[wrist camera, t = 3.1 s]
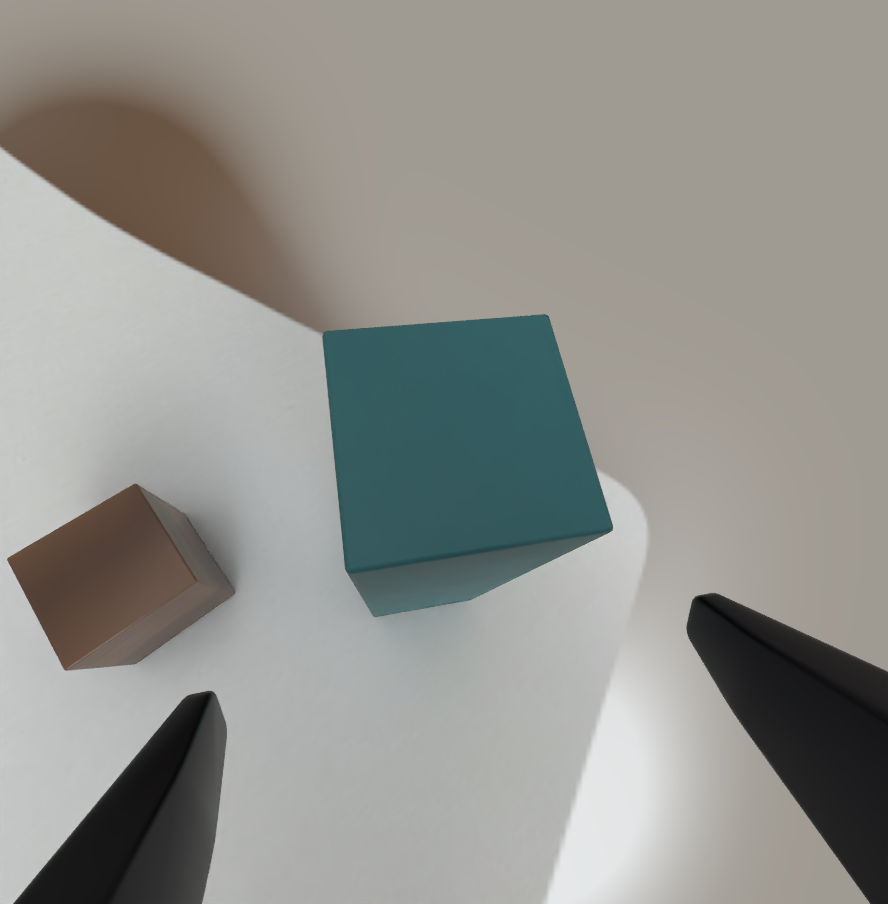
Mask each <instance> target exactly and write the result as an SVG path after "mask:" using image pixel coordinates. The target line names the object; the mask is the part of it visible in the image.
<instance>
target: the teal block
mask: <svg viewBox="0 0 888 904" xmlns="http://www.w3.org/2000/svg"><path fill="white" fill-rule="evenodd" d="M322 337H323V347H324V357H325V368H326V378H327V388H328V398H329V408H330V418H331V428H332V438H333V449H334V459H335V469H336V479H337V489H338V499H339V509H340V520H341V530H342V540H343V550H344V560H345V569H346V571H347V573H348V575H349V576H350V578H351V580H352V581H353V583H354V585H355V586H356V588H357V590H358V591H359V593H360V595H361V596H362V598H363V600H364V601H365V603H366V605H367V606H368V608H369V610H370V611H371V613H372V615H373V616H374V617H378V616H383V615H389V614H394V613H400V612H405V611H411V610H417V609H422V608H428V607H433V606H439V605H445V604H450V603H456V602H461V601H467V600H471V599H473V598H475V597H477V596H479V595H482V594H484V593H486V592H488V591H490V590H492V589H494V588H496V587H498V586H500V585H502V584H504V583H506V582H508V581H510V580H512V579H514V578H517V577H519V576H521V575H523V574H525V573H527V572H529V571H531V570H533V569H535V568H537V567H539V566H541V565H543V564H545V563H547V562H550V561H552V560H554V559H556V558H558V557H560V556H562V555H564V554H566V553H568V552H570V551H572V550H574V549H576V548H578V547H580V546H583V545H585V544H587V543H589V542H591V541H593V540H595V539H597V538H599V537H601V536H603V535H605V534H607V533H609V532H611V531H612V530H613V525H612V521H611V518H610V515H609V512H608V508H607V505H606V502H605V499H604V495H603V492H602V489H601V486H600V482H599V479H598V476H597V473H596V469H595V466H594V463H593V460H592V456H591V453H590V450H589V446H588V443H587V440H586V437H585V433H584V430H583V427H582V424H581V420H580V417H579V414H578V411H577V407H576V404H575V401H574V398H573V394H572V391H571V388H570V385H569V381H568V378H567V375H566V371H565V368H564V365H563V362H562V359H561V356H560V352H559V349H558V345H557V342H556V339H555V336H554V332H553V329H552V326H551V323H550V319H549V317H548V315H545V314H544V315H531V316H520V317H506V318H493V319H479V320H467V321H453V322H440V323H427V324H414V325H401V326H388V327H375V328H361V329H348V330H335V331H326V332H324V334H323V336H322Z"/></svg>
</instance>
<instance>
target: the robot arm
mask: <svg viewBox="0 0 888 904" xmlns="http://www.w3.org/2000/svg"><path fill="white" fill-rule="evenodd" d="M687 634H688V637H689V639H690V641H691V643H692V645H693V646H694V648H695V650H696V651H697V653H698V655H699V656H700V658H701V660H702V661H703V663H704V665H705V666H706V668H707V670H708V671H709V673H710V675H711V677H712V678H713V680H714V681H715V683H716V685H717V686H718V688H719V690H720V692H721V693H722V695H723V697H724V698H725V700H726V702H727V703H728V705H729V706H730V708H731V710H732V711H733V713H734V714H735V716H736V717H737V719H738V720H739V722H740V723H741V724H742V726H743V727H744V729H745V730H746V731H747V733H748V734H749V736H750V737H751V738H752V740H753V741H754V743H755V744H756V745H757V747H758V748H759V750H760V751H761V752H762V754H763V755H764V756H765V758H766V759H767V761H768V762H769V763H770V765H771V766H772V768H773V769H774V770H775V772H776V773H777V775H778V776H779V777H780V779H781V780H782V782H783V783H784V784H785V786H786V787H787V788H788V790H789V791H790V793H791V794H792V795H793V797H794V798H795V800H796V801H797V802H798V804H799V805H800V807H801V808H802V809H803V811H804V812H805V813H806V815H807V816H808V818H809V819H810V820H811V822H812V823H813V825H814V826H815V827H816V829H817V830H818V832H819V833H820V834H821V836H822V837H823V839H824V840H825V841H826V843H827V844H828V846H829V847H830V848H831V850H832V851H833V852H834V854H835V855H836V857H837V858H838V859H839V861H840V862H841V864H842V865H843V866H844V867H845V869H846V871H847V872H848V873H849V875H850V876H851V877H852V879H853V880H854V882H855V883H856V884H857V886H858V887H859V888H860V890H861V891H862V893H863V894H864V895H865V897H866V898H867V900H868V901H869V903H870V904H888V672H887V671H885V670H883V669H881V668H879V667H877V666H874V665H872V664H870V663H868V662H866V661H863V660H861V659H859V658H857V657H855V656H852V655H850V654H848V653H846V652H844V651H842V650H839V649H837V648H835V647H833V646H831V645H829V644H826V643H824V642H822V641H820V640H818V639H815V638H813V637H811V636H809V635H806V634H804V633H802V632H800V631H797V630H796V629H793V628H791V627H789V626H787V625H785V624H782V623H780V622H778V621H776V620H774V619H772V618H770V617H767V616H765V615H763V614H761V613H758V612H756V611H754V610H752V609H750V608H748V607H745V606H743V605H741V604H739V603H737V602H735V601H732V600H730V599H728V598H726V597H724V596H721V595H719V594H716V593H709V594H704V595H699V596H696V597H695V598H694V599H693V600H692V604H691V609H690V613H689V617H688V622H687ZM226 739H227V727H226V722H225V719H224V716H223V713H222V710H221V707H220V704H219V702H218V699H217V696H216V694H215V693H214V692H213V691H206V692H201V693H196V694H191V695H188V696H187V697H185V698H184V699H183V700H182V701H181V702H180V704H179V705H178V706H177V707H176V708H175V710H174V711H173V712H172V713H171V715H170V716H169V717H168V718H167V719H166V721H165V722H164V723H163V724H162V725H161V727H160V728H159V729H158V730H157V731H156V733H155V734H154V735H153V736H152V737H151V739H150V740H149V741H148V742H147V743H146V745H145V746H144V747H143V748H142V749H141V751H140V752H139V753H138V754H137V755H136V757H135V758H134V759H133V760H132V761H131V763H130V764H129V765H128V766H127V767H126V769H125V770H124V771H123V772H122V773H121V775H120V776H119V777H118V778H117V779H116V781H115V782H114V783H113V784H112V786H111V787H110V788H109V789H108V790H107V792H106V793H105V794H104V795H103V796H102V798H101V799H100V800H99V801H98V802H97V804H96V805H95V806H94V807H93V808H92V810H91V811H90V812H89V813H88V814H87V816H86V817H85V818H84V819H83V820H82V822H81V823H80V824H79V825H78V826H77V828H76V829H75V830H74V831H73V832H72V834H71V835H70V836H69V837H68V838H67V840H66V841H65V842H64V843H63V844H62V846H61V847H60V848H59V849H58V850H57V852H56V853H55V854H54V855H53V856H52V858H51V859H50V860H49V861H48V863H47V864H46V865H45V866H44V867H43V869H42V870H41V871H40V872H39V873H38V875H37V876H36V877H35V878H34V879H33V881H32V882H31V883H30V884H29V885H28V887H27V888H26V889H25V890H24V891H23V893H22V894H21V895H20V896H19V897H18V899H17V900H16V901H15V902H14V903H13V904H202V901H203V897H204V892H205V887H206V883H207V878H208V873H209V869H210V864H211V859H212V854H213V848H214V843H215V836H216V828H217V820H218V811H219V802H220V793H221V784H222V775H223V766H224V757H225V748H226Z"/></svg>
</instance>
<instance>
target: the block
mask: <svg viewBox="0 0 888 904" xmlns="http://www.w3.org/2000/svg"><path fill="white" fill-rule="evenodd" d="M7 560H8V562H9V564H10V566H11V568H12V570H13V572H14V574H15V576H16V578H17V580H18V582H19V583H20V585H21V587H22V589H23V591H24V593H25V595H26V597H27V599H28V601H29V603H30V605H31V606H32V608H33V610H34V612H35V614H36V616H37V618H38V620H39V622H40V624H41V626H42V628H43V630H44V631H45V633H46V635H47V637H48V639H49V641H50V643H51V645H52V647H53V649H54V651H55V653H56V655H57V656H58V658H59V660H60V662H61V664H62V666H63V668H64V670H66V671H68V670H79V669H89V668H99V667H110V666H120V665H131V664H136V663H138V662H139V661H140V660H142V659H143V658H145V657H146V656H148V655H149V654H150V653H152V652H153V651H155V650H156V649H157V648H159V647H160V646H162V645H163V644H164V643H166V642H167V641H169V640H170V639H171V638H173V637H174V636H176V635H177V634H179V633H180V632H181V631H183V630H184V629H186V628H187V627H188V626H190V625H191V624H193V623H194V622H195V621H197V620H198V619H200V618H201V617H202V616H204V615H205V614H207V613H208V612H210V611H211V610H212V609H214V608H215V607H217V606H218V605H219V604H221V603H222V602H224V601H225V600H226V599H228V598H229V597H231V596H232V595H233V594H235V591H234V589H233V588H232V586H231V585H230V583H229V582H228V580H227V579H226V577H225V575H224V574H223V572H222V571H221V569H220V568H219V566H218V565H217V563H216V561H215V560H214V558H213V557H212V555H211V554H210V552H209V551H208V549H207V548H206V546H205V544H204V543H203V541H202V540H201V538H200V537H199V535H198V534H197V532H196V530H195V529H194V527H193V526H192V524H191V523H190V521H189V520H188V518H187V517H186V515H185V514H184V513H183V512H181V511H179V510H178V509H176V508H175V507H173V506H171V505H170V504H168V503H167V502H165V501H163V500H162V499H160V498H159V497H157V496H155V495H154V494H152V493H151V492H149V491H147V490H146V489H144V488H142V487H141V486H139V485H138V484H133V485H132V486H130V487H128V488H126V489H125V490H123V491H121V492H120V493H118V494H116V495H115V496H113V497H111V498H109V499H108V500H106V501H104V502H103V503H101V504H99V505H97V506H96V507H94V508H92V509H91V510H89V511H87V512H85V513H84V514H82V515H80V516H79V517H77V518H75V519H74V520H72V521H70V522H68V523H67V524H65V525H63V526H62V527H60V528H58V529H56V530H55V531H53V532H51V533H50V534H48V535H46V536H44V537H43V538H41V539H39V540H38V541H36V542H34V543H33V544H31V545H29V546H27V547H26V548H24V549H22V550H21V551H19V552H17V553H15V554H14V555H12V556H10V557H9V558H8V559H7Z"/></svg>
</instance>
